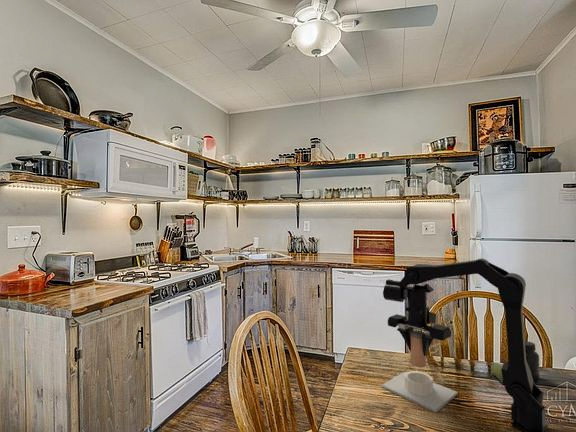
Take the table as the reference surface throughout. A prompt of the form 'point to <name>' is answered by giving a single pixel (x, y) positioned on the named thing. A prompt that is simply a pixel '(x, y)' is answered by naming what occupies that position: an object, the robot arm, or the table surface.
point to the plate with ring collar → (420, 390)
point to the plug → (417, 349)
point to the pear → (497, 371)
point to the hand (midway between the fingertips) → (418, 353)
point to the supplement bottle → (532, 360)
